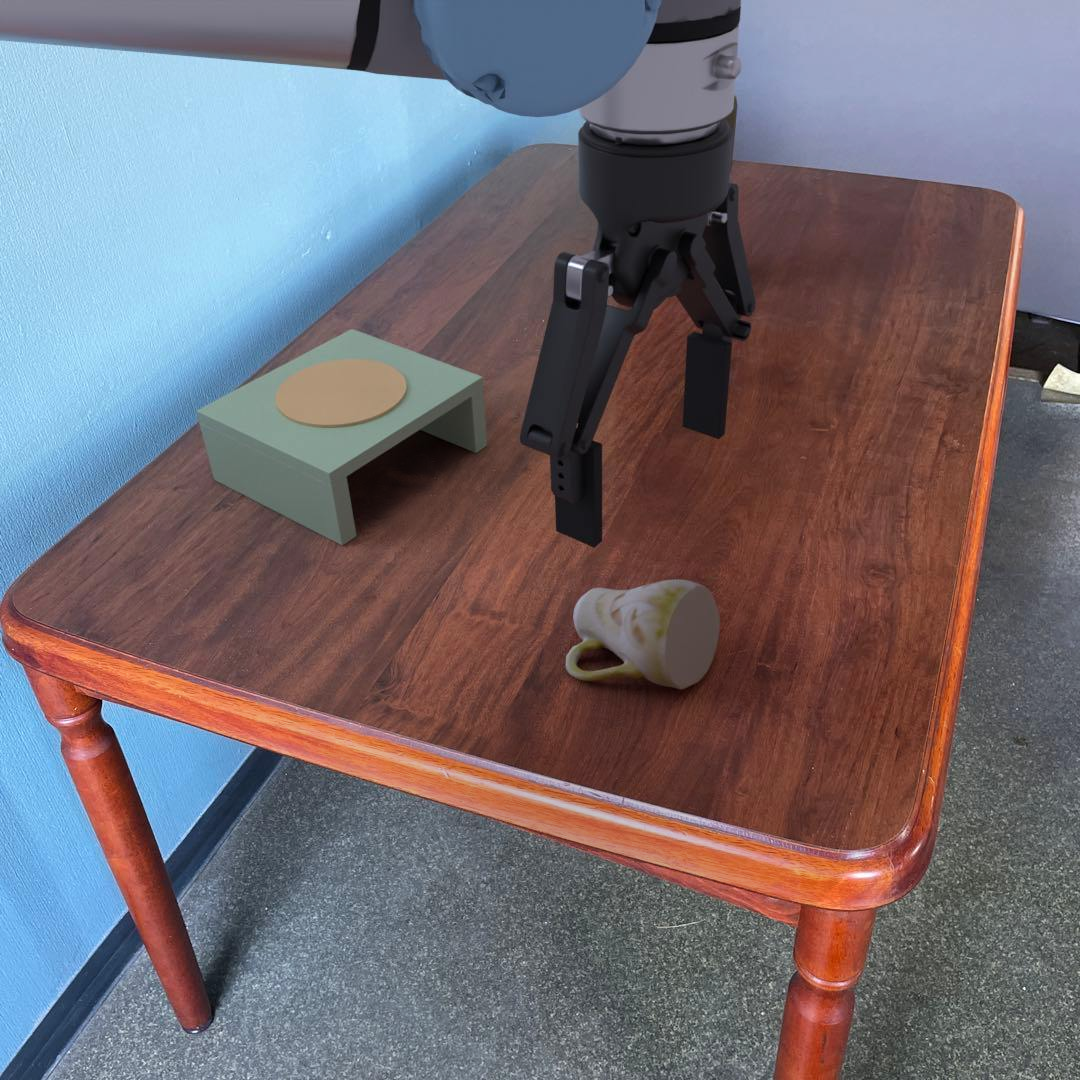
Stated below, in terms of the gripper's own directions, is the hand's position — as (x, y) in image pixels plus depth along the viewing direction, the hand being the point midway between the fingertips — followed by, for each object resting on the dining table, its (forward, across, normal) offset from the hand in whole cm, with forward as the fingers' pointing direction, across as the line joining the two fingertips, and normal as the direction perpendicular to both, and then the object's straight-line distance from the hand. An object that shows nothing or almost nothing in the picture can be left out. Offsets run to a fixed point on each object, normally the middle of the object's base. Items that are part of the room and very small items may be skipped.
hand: (645, 480), depth 65 cm
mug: (+15, 0, 0) cm, 15 cm away
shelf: (+15, +6, +34) cm, 38 cm away
